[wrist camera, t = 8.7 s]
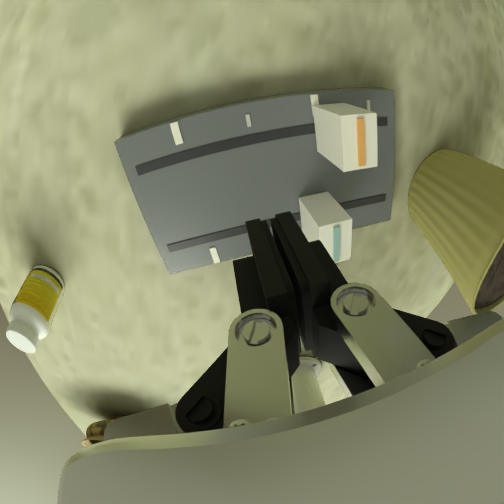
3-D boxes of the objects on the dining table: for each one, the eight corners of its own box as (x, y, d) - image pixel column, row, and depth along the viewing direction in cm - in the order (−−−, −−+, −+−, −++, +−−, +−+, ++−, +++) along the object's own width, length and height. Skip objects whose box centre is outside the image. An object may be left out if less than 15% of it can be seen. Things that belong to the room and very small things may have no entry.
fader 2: (328, 227, 26) (351, 260, 22) (302, 234, 26) (321, 268, 22) (327, 191, 24) (353, 220, 20) (298, 197, 24) (319, 228, 20)
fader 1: (346, 146, 21) (378, 167, 17) (317, 151, 21) (344, 173, 17) (343, 102, 19) (378, 113, 15) (312, 105, 19) (341, 116, 15)
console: (381, 210, 29) (390, 220, 27) (171, 261, 28) (169, 275, 27) (381, 87, 20) (394, 90, 18) (121, 136, 20) (113, 142, 18)
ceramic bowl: (168, 438, 67) (170, 466, 59) (93, 426, 59) (92, 455, 51) (179, 406, 51) (181, 447, 43) (74, 389, 43) (68, 429, 36)
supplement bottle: (29, 258, 24) (-5, 318, 17) (65, 270, 27) (37, 336, 19) (33, 289, 27) (7, 347, 19) (66, 300, 29) (45, 362, 21)
